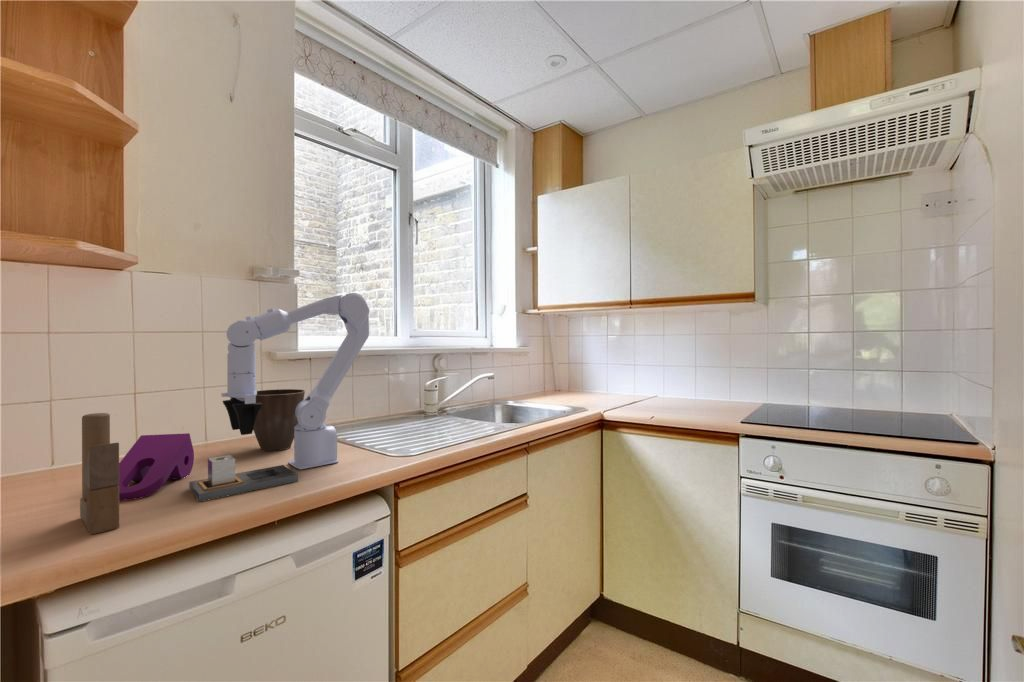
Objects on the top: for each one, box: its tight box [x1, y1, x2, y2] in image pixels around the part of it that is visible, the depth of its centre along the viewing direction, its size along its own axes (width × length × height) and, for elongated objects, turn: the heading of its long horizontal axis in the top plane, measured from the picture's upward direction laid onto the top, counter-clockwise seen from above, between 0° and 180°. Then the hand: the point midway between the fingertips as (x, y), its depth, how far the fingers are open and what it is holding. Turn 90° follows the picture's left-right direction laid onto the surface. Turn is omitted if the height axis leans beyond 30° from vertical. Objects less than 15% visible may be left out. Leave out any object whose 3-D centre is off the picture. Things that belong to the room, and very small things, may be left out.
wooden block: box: [79, 412, 120, 535], centre depth 76 cm, size 4×11×18 cm, turn 50°
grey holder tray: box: [188, 464, 299, 502], centre depth 96 cm, size 18×10×2 cm, turn 134°
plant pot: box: [253, 388, 306, 452], centre depth 128 cm, size 15×15×16 cm
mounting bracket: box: [119, 432, 195, 501], centre depth 96 cm, size 10×8×18 cm
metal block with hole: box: [207, 454, 236, 488], centre depth 93 cm, size 4×4×7 cm
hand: (241, 431), depth 105 cm, fingers open, 7 cm apart
